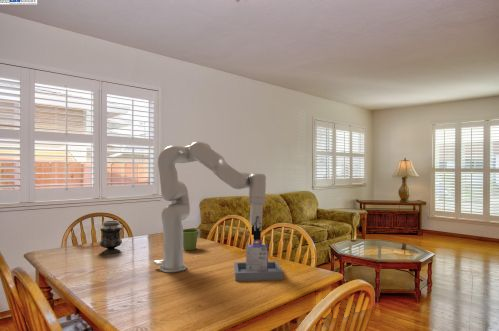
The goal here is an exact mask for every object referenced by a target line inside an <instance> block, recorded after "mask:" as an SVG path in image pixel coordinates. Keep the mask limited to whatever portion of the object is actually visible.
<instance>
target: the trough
mask: <svg viewBox="0 0 499 331" xmlns="http://www.w3.org/2000/svg"><path fill="white" fill-rule="evenodd" d="M233 271H234V272H233V273H234V281H235V282H247V281H249V282H251V281H278V280H284V271H283V269H282V267H281V265H280V263H279V262H278V260H277V261H273V260H272V261H269V260H268V271H251V272H246V261H239V262H238V261H236V262H235V261H234V262H233Z"/></svg>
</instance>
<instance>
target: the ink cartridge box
mask: <svg viewBox="0 0 499 331" xmlns="http://www.w3.org/2000/svg"><path fill="white" fill-rule="evenodd" d="M268 245H269V244H262V240H261V239H260V240H254V239H253V243H252V244H247V245H246V247H245V262H246V272H251V271H268V261H269V248H268Z"/></svg>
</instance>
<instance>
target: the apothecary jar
mask: <svg viewBox="0 0 499 331" xmlns="http://www.w3.org/2000/svg"><path fill="white" fill-rule="evenodd" d="M99 229H100V231H101V232H102V236H101V240H100V241H99V246H100V247H102V248H104V250H103V251H101V254H102V253H104V254H103V255H114V254H117V253H118V254H119V253H120V252H121V250H120V249H118V247H119V246H121V245H122V244H123V241H122V239H121V236H120V234H121V230H122V229H123V226H122V224H120V221H119V220H104V221H103V223H102V225H101V226H100V228H99ZM113 253H114V254H113Z"/></svg>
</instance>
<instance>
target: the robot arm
mask: <svg viewBox="0 0 499 331" xmlns="http://www.w3.org/2000/svg"><path fill="white" fill-rule="evenodd" d="M192 162H198V163H200V164H202V165H203V166H204V167H206V168H207V169H208V170H210V171H211V172H212V173H213V174H214V175H215V176H217V177H218V179H220V180H221V181H222V182H224V183H225V184H227V186H230V187H231V188H232V189H235V190H242V189H249V190H248V204H250V210H249V224H250V226H251V235H252V236H253V241H254V240H261V237H262V236H261V235H262V233H261V232H262V231H261V226H262V225H263V209H264V208H263V205H265V204H266V189H267V188H266V186H267V183H266V181H267V177H266V175H265V174H264V173H249V172H248V173H247V172H239V171H238V170H236V169H235V168H234V167H232V166H231V165H230V164H228V162H226V160H225V157H224V156H222V155H221V154H220V153H218V152H216V151H215V150H214V149H212V147H211V146H210V144H208V143H207V142H203V141H195V142H194V141H193V142H192V143H191V145H186V146H183V145H169V146H167V147H165V148H163V150H161V152H160V153H159V155H158V157H157V167H158V173H159V184H160V189H161V196H162V197H161V198H163V199H164V200H165V201H167V202H171V203H170V204H168V205H166V206H165V207H164V208H163V209H162V211H161V224H162V231H163V232H162V236H163V237H162V238H163V241H162V242H163V247H162V248H163V249H162V250H163V259H161V260H157V259H155V260H154V262H153V265H155V266H160V267H159V270H160V271H161V272H164V273H179V272H182V271H184V270H186V269H187V264H186V263H184V247H183V229H184V228H183V223H182V221H185V220H186V219H187V218H188V217H189V216H190V213H191V207H190V198H189V191H188V187H187V186H186V184H185V183H184V182H182V181H179V178H178V171H177V168H176V164H187V163H188V164H189V163H192Z"/></svg>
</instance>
